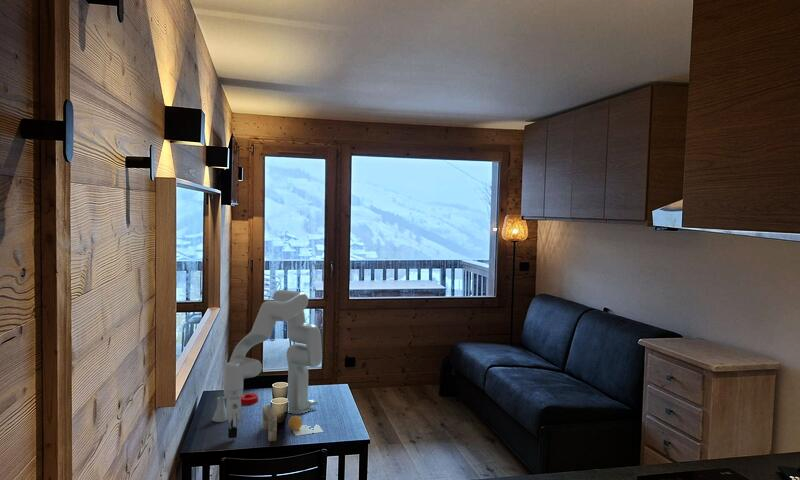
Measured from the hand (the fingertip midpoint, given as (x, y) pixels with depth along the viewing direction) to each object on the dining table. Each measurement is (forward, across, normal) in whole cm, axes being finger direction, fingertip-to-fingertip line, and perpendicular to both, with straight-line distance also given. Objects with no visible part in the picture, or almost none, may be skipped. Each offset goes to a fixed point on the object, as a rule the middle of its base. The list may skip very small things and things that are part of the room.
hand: (232, 437), depth 212 cm
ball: (-2, +2, -26) cm, 26 cm away
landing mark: (+1, +1, -31) cm, 31 cm away
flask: (+2, +25, +2) cm, 25 cm away
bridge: (+1, +1, -15) cm, 15 cm away
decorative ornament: (+2, +45, -13) cm, 47 cm away
